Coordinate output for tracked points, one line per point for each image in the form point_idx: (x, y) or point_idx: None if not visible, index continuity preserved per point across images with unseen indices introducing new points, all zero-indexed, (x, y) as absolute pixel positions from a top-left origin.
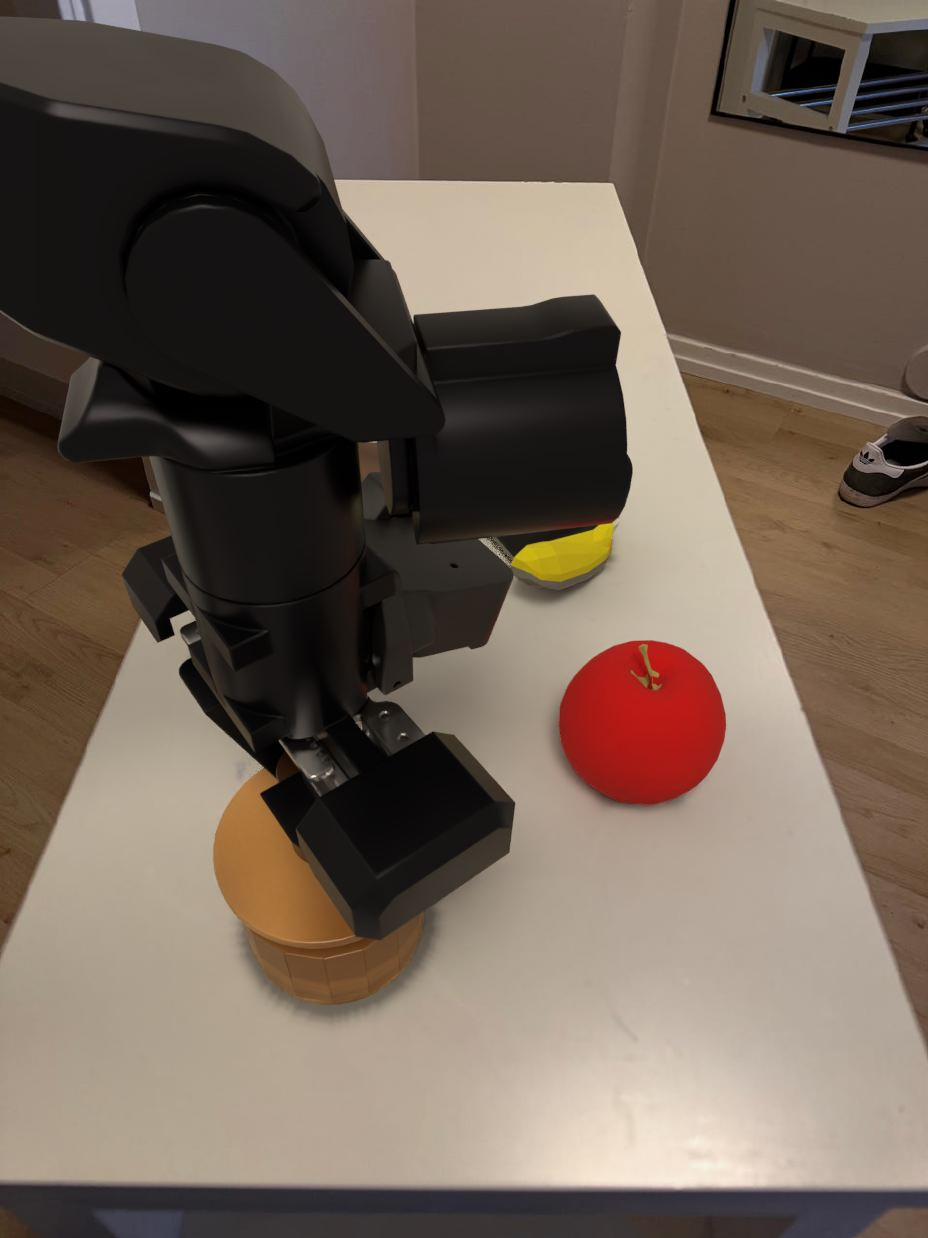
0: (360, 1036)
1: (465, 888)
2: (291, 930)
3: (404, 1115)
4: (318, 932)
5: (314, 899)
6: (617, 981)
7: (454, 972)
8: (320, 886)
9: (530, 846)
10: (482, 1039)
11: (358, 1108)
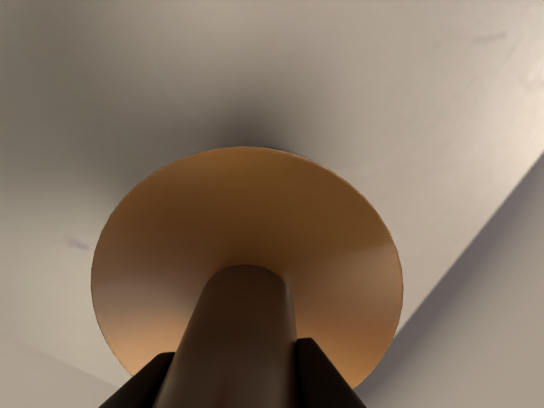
0: None
1: (291, 106)
2: (348, 381)
3: (424, 241)
4: (367, 357)
5: (325, 347)
6: (454, 15)
7: (355, 156)
8: (313, 336)
9: (283, 11)
10: (416, 163)
11: None
